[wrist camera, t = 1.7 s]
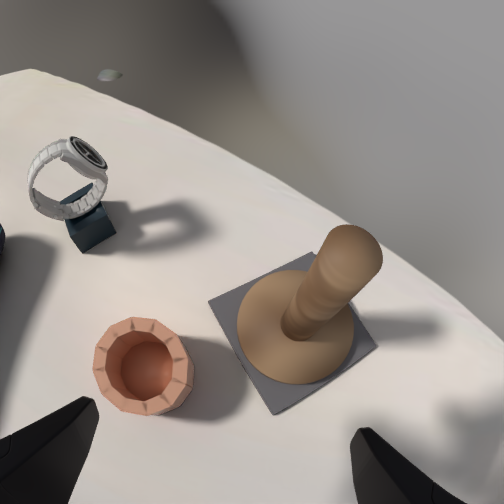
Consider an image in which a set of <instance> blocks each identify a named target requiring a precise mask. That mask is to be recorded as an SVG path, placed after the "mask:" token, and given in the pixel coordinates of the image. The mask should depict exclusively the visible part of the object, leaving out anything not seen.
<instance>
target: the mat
mask: <svg viewBox="0 0 504 504" xmlns="http://www.w3.org/2000/svg"><path fill="white" fill-rule="evenodd" d="M315 258H316V256H315V255H314V253H313V252H310V253H308V254H306V255H304V256H302V257H300V258H298V259H296V260H293V261H291V262H289V263H287V264H285V265H283V266H281V267H279V268H277V269H275V270H273V271H271V272H269V273H267V274H265V275H262V276H260V277H258V278H256V279H254V280H252V281H250V282H248V283H246V284H244V285H241V286H239V287H237V288H235V289H233V290H231V291H229V292H227V293H224V294H222V295H220V296H218V297H216V298H214V299H212V300H209V301H208V303H209V305H210V307H211V309H212V311H213V313H214V315H215V316H216V318H217V320H218V322H219V324H220V326H221V328H222V329H223V331H224V333H225V335H226V337H227V339H228V340H229V342H230V344H231V346H232V348H233V349H234V351H235V353H236V355H237V356H238V358H239V360H240V362H241V363H242V365H243V367H244V369H245V370H246V372H247V374H248V375H249V377H250V379H251V381H252V382H253V384H254V386H255V387H256V389H257V391H258V392H259V394H260V396H261V397H262V399H263V401H264V402H265V404H266V405H267V407H268V409H269V410H270V412H271V414H272V415H274V414H276V413H278V412H280V411H281V410H283V409H285V408H287V407H288V406H290V405H292V404H293V403H295V402H297V401H298V400H300V399H302V398H303V397H305V396H306V395H308V394H309V393H311V392H313V391H314V390H316V389H317V388H319V387H320V386H322V385H323V384H325V383H326V382H328V381H329V380H331V379H332V378H334V377H335V376H337V375H338V374H339V373H341V372H342V371H344V370H345V369H346V368H348V367H349V366H351V365H352V364H353V363H355V362H356V361H357V360H359V359H360V358H361V357H363V356H364V355H365V354H367V353H368V352H369V351H370V350H372V349H373V348H374V347H376V344H375V342H374V341H373V339H372V338H371V336H370V335H369V333H368V332H367V330H366V329H365V327H364V326H363V324H362V323H361V321H360V320H359V318H358V317H357V315H356V314H355V312H354V311H353V309H352V308H351V306H350V305H349V303H348V305H349V308H350V310H351V313H352V317H353V323H354V335H353V341H352V345H351V348H350V351H349V353H348V355H347V357H346V358H345V360H344V361H343V362H342V364H341V365H340V366H339V367H338V368H337V369H336V370H335V371H334V372H332V373H331V374H329V375H328V376H326V377H324V378H322V379H320V380H317V381H314V382H311V383H307V384H299V385H296V384H285V383H281V382H277V381H274V380H272V379H270V378H268V377H266V376H265V375H263V374H261V373H260V372H259V371H258V370H257V369H255V368H254V367H253V366H252V365H251V363H250V362H249V361H248V360H247V358H246V357H245V355H244V353H243V351H242V349H241V347H240V344H239V340H238V335H237V318H238V312H239V308H240V306H241V303H242V301H243V299H244V297H245V295H246V294H247V292H248V291H249V290H250V288H251V287H252V286H253V285H255V284H256V283H257V282H258V281H259V280H261V279H262V278H264V277H266V276H268V275H270V274H273V273H275V272H279V271H285V270H301V271H306V272H308V270H309V269H310V267H311V265H312V263H313V261H314V259H315Z"/></svg>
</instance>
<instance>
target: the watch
mask: <svg viewBox="0 0 504 504" xmlns="http://www.w3.org/2000/svg"><path fill="white" fill-rule="evenodd" d="M60 156H61V157H60ZM57 157H60V160H62V161H64V162H67V163H69V165H70V166H71V167H72V168H73V169H75V170H76V171H77V172H78V173H80V174H81V175H83V176H85V177H87V178H90V179H96V182H95V183H94V185H93V183H90V184H89V185H87V186H85V187H83V188H82V189H80V190H78V191H76V192H75V193H73V194H71V195H70V196H68V197H67V198H65V199H63V200H62V201H60V202H59V201H56V200H53V199H50V198H48V197H46V196H45V195H43V194H42V193H40V192H39V191H37V190H36V189H35V188H32V187H33V183H34V180H35V178H36V176H37V174H38V172H39V171H40V170H41V169H42V168H43V167H44V164H47V163H49V162H50V161H52V160H53V158H54V159H55V158H57ZM107 169H108V166H107V164H106V162H105V160H104V159H103V158H102V157H101V155H100V154H99V153H98V152H97V151H96V150H95V149H94V148H93V147H91V146H90V145H89V144H87V143H86V142H85V141H83V140H81V139H79V138H77V137H74V136H70V137H69V138H68V139H59V140H58V141H55V142H53V143H51V144H50V145H47V146H46V147H44V148H43V149H42V151H40V152H39V153H38V154H37V155H36V157H35V159H33V161H32V163H31V165H30V168H29V171H28V177H27V181H28V190H29V196H30V200H31V202H32V203H33V206H34V208H35V209H36V210H37V211H38V212H40V213H42V214H43V215H45V216H47V217H50V218H52V219H56V220H60V221H64V220H65V223H66V226H67V229H68V232H69V235H70V237H71V239H72V240H73V242H74V243H75V244H76V246H77V247H78V248H79V250H80V251H81V252H82V253H84V252H86V251H87V250H89V249H90V248H92V247H94V246H95V245H97V244H99V243H100V242H102V241H104V240H105V239H107V238H109V237H110V236H112V235H114V234H115V233H116V231H115V229H114V227H113V225H112V223H111V221H110V218H109V216H108V214H107V212H106V210H105V208H104V206H103V204H102V202H101V201H100V200H101V199H102V197H103V196H104V193H105V191H106V188H107V184H108V177H107V175H106V173H105V172H106V170H107ZM63 219H64V220H63Z"/></svg>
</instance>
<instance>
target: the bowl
mask: <svg viewBox="0 0 504 504" xmlns="http://www.w3.org/2000/svg"><path fill="white" fill-rule="evenodd" d="M93 373H94V376H95V378H96V381H97V384H98V386H99V389H100V391H101V394H102V395H103V396H104V397H105V398H107V399H108V400H109V401H110V402H111V403H112V404H113V405H115V406H116V407H117V408H118V409H119V410H121V411H123V412H128V413H133V414H139V415H145V416H150V415H159V414H163V413H165V412H168V411H170V410H172V409H175V408H177V407H180V406H181V405H182V403H183V402H184V400H185V399H186V398H187V396H188V395H189V393H190V392H191V390H192V389H193V388H192V387H193V381H194V364H193V362H192V360H191V358H190V356H189V354H188V352H187V350H186V348H185V346H184V345H183V343H182V342H181V340H180V339H179V337H178V336H177V334H176V333H174V332H173V331H171V330H170V329H169V328H167V327H166V326H164V325H163V324H162V323H160V322H159V321H157V320H155V319H147V318H138V317H130V318H128V319H125V320H123V321H121V322H119V323H116V324H114V325H112V326H110V327H109V328H108V330H107V331H106V332H105V334H104V335H103V336H102V338H101V339H100V340H99V342H98V343H97V344H96V347H95V354H94V362H93Z"/></svg>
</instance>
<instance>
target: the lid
mask: <svg viewBox="0 0 504 504" xmlns="http://www.w3.org/2000/svg"><path fill="white" fill-rule="evenodd" d="M382 263H383V255H382V251H381V248H380V245H379V244H378V242H377V241H376V239H375V238H374V237H373V236H372V235H371V234H370V233H369V232H367V231H366V230H364V229H362V228H360V227H358V226H354V225H340V226H337V227H335V228H334V229H332V230H331V231H330V232H329V234H328V235H327V237H326V239H325V241H324V243H323V245H322V247H321V249H320V250H319V252H318V254H317V256H316V258H315V259H314V261H313V263H312V265H311V267H310V269H309V270H308V272H306V271H301V270H285V271H279V272H275V273H273V274H270V275H268V276H266V277H264V278H262V279H261V280H259V281H258V282H257V283H256V284H255V285H253V286H252V287H251V288H250V290H249V291H248V292H247V294H246V295H245V297H244V299H243V301H242V303H241V306H240V308H239V312H238V318H237V335H238V340H239V344H240V347H241V349H242V351H243V353H244V355H245V357H246V358H247V360H248V361H249V362H250V363H251V365H252V366H253V367H254V368H255V369H257V370H258V371H259V372H260V373H261V374H263V375H265V376H266V377H268V378H270V379H272V380H274V381H277V382H281V383H285V384H296V385H299V384H307V383H311V382H314V381H317V380H320V379H322V378H324V377H326V376H328V375H329V374H331V373H332V372H334V371H335V370H336V369H337V368H338V367H339V366H340V365H341V364H342V362H343V361H344V360H345V358H346V357H347V355H348V353H349V351H350V348H351V345H352V341H353V335H354V323H353V317H352V313H351V310H350V308H349V305H348V302H349V301H350V300H351V299H352V298H353V297H354V296H355V295H356V294H357V293H358V292H359V291H360V290H361V289H362V288H363V287H364V286H365V285H366V284H367V283H368V282H369V281H370V280H371V279H372V278H373V277H374V276H375V275H376V274H377V273H378V272H379V270H380V269H381V266H382Z"/></svg>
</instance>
